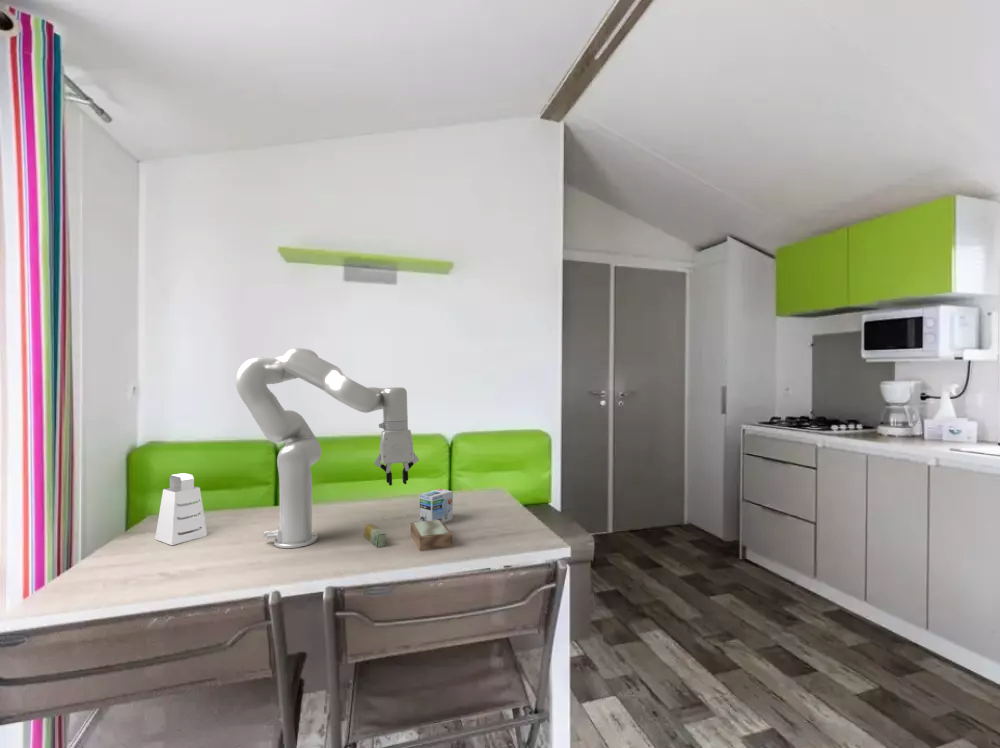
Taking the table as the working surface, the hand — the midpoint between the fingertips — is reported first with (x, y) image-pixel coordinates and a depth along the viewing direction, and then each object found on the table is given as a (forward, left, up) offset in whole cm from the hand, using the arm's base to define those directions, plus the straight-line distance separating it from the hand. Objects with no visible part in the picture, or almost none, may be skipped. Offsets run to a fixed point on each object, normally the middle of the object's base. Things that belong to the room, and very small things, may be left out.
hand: (397, 483), depth 152 cm
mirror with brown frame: (+10, -4, -18) cm, 21 cm away
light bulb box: (+16, +14, -18) cm, 28 cm away
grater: (-64, +26, -18) cm, 72 cm away
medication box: (-7, +2, -19) cm, 20 cm away
